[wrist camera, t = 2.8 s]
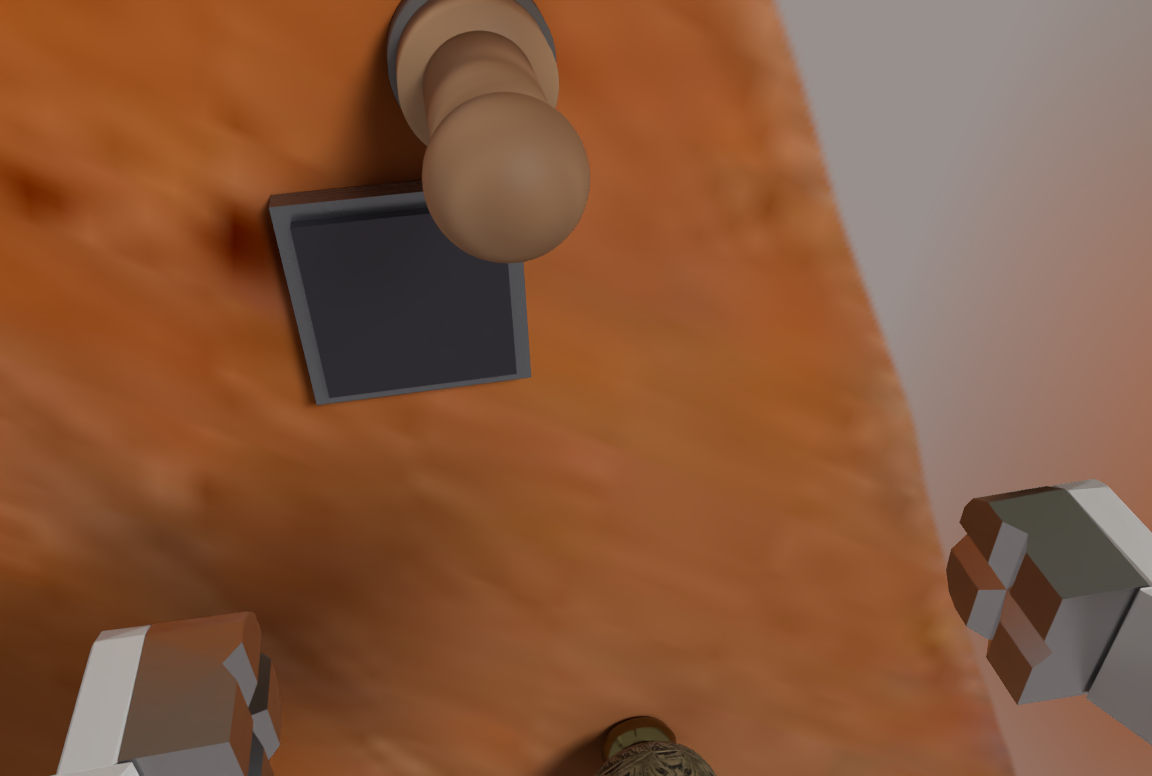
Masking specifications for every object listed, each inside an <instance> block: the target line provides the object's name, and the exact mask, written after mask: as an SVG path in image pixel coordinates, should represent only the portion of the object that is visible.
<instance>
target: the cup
mask: <svg viewBox="0 0 1152 776" xmlns="http://www.w3.org/2000/svg"><path fill="white" fill-rule="evenodd" d="M602 759H603V762H604V764H603V765H602V766H601V767H600V768H599V770H598V771H597V773H596V774H595V776H716V774H715V773H714V771H713V770H712V768H711V767H710V766H709V764H708V763H707V762H706V761H705V760H704V759H703V758H702V757H701V756H700V755H698V754H697V753H696V752H695V751H693V750H691V749H690V748H688V747H686V746H683V745H681V744H677V743H676V737H675V735H674V733H673V732H672V730H671V729H670V728H669V727H668V726H667V725H666V724H665V723H664V722H663V721H661V720H658V719H655V718H650V717H640V718H634V719H630V720H627V721H625V722H622V723H620V724H619V725H617V726H616V727H614V728H613V729H612V730H611V731H610V732H609V733H608V734H607V736H606V738H605V740H604V743H603V747H602Z"/></svg>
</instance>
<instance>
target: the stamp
mask: <svg viewBox="0 0 1152 776" xmlns="http://www.w3.org/2000/svg"><path fill="white" fill-rule="evenodd" d="M386 50H387V63H388V75H389V80H390V85H391V88H392V91H393V93H394V96H395V98H396V100H397V102H398V104H399V106H400V108H401V109H402V112H403V114H404V117H405V119H406V121H407V123H408V125H409V126H410V128H411V129H412V131H413V132H414V134H415V135H416V136H417V137H418V138H419V139H420V140H421V141H422V142H423V143H424V144H425V145H426V146H427V149H426V151H425V155H424V160H423V167H422V187H423V192H424V197H425V201H426V204H427V207H428V209H429V212H430V214H431V216H432V218H433V220H434V221H435V223H436V225H437V226H438V227H439V229H440V230H441V231H442V233H443V234H444V235H445V236H446V237H447V238H448V239H449V240H450V241H451V242H452V243H454V244H455V245H456V246H457V247H459V248H460V249H461V250H463V251H465V252H466V253H468V254H470V255H472V256H475V257H477V258H480V259H483V260H486V261H491V262H496V263H519V262H524V261H528V260H532V259H535V258H537V257H540V256H542V255H544V254H546V253H548V252H550V251H551V250H553V249H554V248H555V247H557V246H558V245H559V244H561V243H562V242H563V241H564V240H565V239H566V238H567V237H568V236H569V234H570V233H571V232H572V231H573V230H574V228H575V227H576V225H577V224H578V222H579V220H580V218H581V216H582V214H583V212H584V209H585V206H586V203H587V200H588V194H589V188H590V171H589V163H588V159H587V155H586V151H585V149H584V146H583V143H582V141H581V139H580V137H579V136H578V134H577V132H576V131H575V129H574V128H573V126H572V125H571V124H570V122H569V121H568V120H567V119H566V118H565V117H564V116H563V115H562V114H561V113H560V112H559V111H557V110H556V109H555V107H556V104H557V99H558V93H559V77H558V69H557V65H556V52H555V46H554V42H553V38H552V36H551V33H550V30H549V28H548V26H547V24H546V22H545V20H544V19H543V17H542V15H541V13H540V11H539V9H538V7H537V6H536V4H535V3H534V1H533V0H402V1H401V2H400V4H399V5H398V7H397V9H396V11H395V13H394V15H393V17H392V20H391V23H390V26H389V30H388V35H387V48H386Z"/></svg>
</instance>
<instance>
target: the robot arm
mask: <svg viewBox="0 0 1152 776" xmlns="http://www.w3.org/2000/svg"><path fill="white" fill-rule="evenodd" d="M960 524H961V525H962V527H963V528H964V530H965V531H966V532H967V535H966V536H965V537H964V538H963V539H961V541H959V542H958V543H957V544H956V545H955V546H954V547H953V548H952V549H951V552H950V556H949V560H948V564H947V568H946V572H947V580H948V589H949V593H950V596H951V598H952V601H953V604H954V606H955V609H956V610H957V612H958V614H959V615H960V617H961V618H962V620H963V622H964V623H965V625H966V626H967V627H968V628H970V629H972V630H973V631H975V632H977V633H978V634H980V635H982V636H983V637H985V638H987V639H988V648H987V656H986V657H987V659H988V661H989V662H990V664H991V665H992V667H993V668H994V670H995V671H996V673H997V674H998V676H999V678H1000V679H1001V681H1002V682H1003V684H1004V685H1005V687H1006V688H1007V690H1008V691H1009V693H1010V695H1011V696H1012V698H1013V699H1014V701H1015V702H1016V704H1017V705H1020V704H1026V703H1033V702H1040V701H1046V700H1052V699H1059V698H1065V697H1072V696H1078V695H1084V694H1088V695H1087V697H1086V698H1087V699H1088V700H1090V701H1091V702H1092V703H1094V704H1095V705H1097V706H1098V707H1099V708H1101V709H1102V710H1103V711H1105V712H1106V713H1108V714H1109V715H1110V716H1112V717H1113V718H1115V719H1116V720H1117V721H1119V722H1120V723H1122V724H1123V725H1124V726H1126V727H1127V728H1128V729H1130V730H1131V731H1133V732H1134V733H1135V734H1137V735H1138V736H1140V737H1141V738H1143V739H1144V740H1145V741H1147V742H1148V743H1149V744H1151V745H1152V533H1151V532H1150V531H1149V530H1148V528H1147V527H1146V526H1145V525H1144V524H1143V523H1142V522H1141V521H1140V520H1139V519H1138V518H1137V517H1136V516H1135V515H1134V514H1133V512H1132V511H1131V510H1129V508H1128V507H1127V506H1126V505H1125V504H1124V503H1123V502H1122V501H1121V500H1120V499H1119V498H1118V496H1116V494H1115V493H1114V492H1113V491H1112V490H1111V489H1110V488H1109V487H1108V486H1107V485H1105V484H1104V483H1102V482H1100V481H1097V480H1095V479H1092V480H1085V481H1078V482H1073V483H1066V484H1060V485H1054V486H1051V487H1050V486H1045V487H1038V488H1032V489H1026V490H1020V491H1015V492H1009V493H1002V494H996V495H990V496H984V497H978V498H973V499H972V500H971V501H970V502H969V503H968V504H967V505H966V506H965V508H964V510H963V513H962V516H961V520H960ZM261 639H262V631H261V628H260V626H259V623H258V621H257V618H256V615H255V613H254V612H250V611H246V612H239V613H231V614H223V615H216V616H208V617H200V618H192V619H185V620H177V621H169V622H161V623H154V624H151V625H143V626H136V627H128V628H121V629H114V630H106V631H102V632H101V633H100V635H99V636H98V638H97V639H96V640H95V642H94V643H93V645H92V647H91V651H90V654H89V658H88V661H87V665H86V669H85V672H84V676H83V679H82V683H81V687H80V690H79V694H78V697H77V701H76V705H75V708H74V712H73V715H72V719H71V722H70V726H69V730H68V733H67V737H66V740H65V744H64V748H63V751H62V755H61V758H60V762H59V766H58V769H57V773H56V775H51V776H274V774H273V771H272V768H271V766H270V763H269V759H270V757H271V756H272V755H273V753H274V752H275V751H276V750H277V748H278V747H279V746H280V735H281V705H280V691H279V686H278V681H277V676H276V672H275V669H274V666H273V662H272V659H271V658H269V657H267V656H266V655H264V654H262V653H260V650H261Z"/></svg>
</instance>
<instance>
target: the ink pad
mask: <svg viewBox="0 0 1152 776" xmlns="http://www.w3.org/2000/svg"><path fill="white" fill-rule="evenodd" d="M269 211H270V215H271V219H272V223H273V227H274V231H275V235H276V239H277V243H278V248H279V252H280V256H281V260H282V264H283V268H284V272H285V276H286V281H287V285H288V289H289V293H290V297H291V301H292V305H293V309H294V313H295V318H296V322H297V326H298V330H299V334H300V338H301V342H302V346H303V350H304V355H305V359H306V363H307V367H308V371H309V375H310V379H311V383H312V388H313V392H314V396H315V400H316V404H317V405H321V404H329V403H336V402H344V401H352V400H359V399H367V398H375V397H383V396H390V395H398V394H406V393H413V392H421V391H429V390H437V389H444V388H452V387H460V386H467V385H475V384H483V383H491V382H498V381H506V380H514V379H521V378H529V377H531V368H530V354H529V339H528V324H527V309H526V295H525V280H524V265H523V262H519V263H496V262H491V261H486V260H483V259H480V258H477V257H475V256H472V255H470V254H468V253H466V252H465V251H463V250H461V249H460V248H459V247H457V246H456V245H455V244H454V243H452V242H451V241H450V240H449V239H448V238H447V237H446V236H445V235H444V234H443V233H442V231H441V230H440V229H439V227H438V226H437V225H436V223H435V221H434V220H433V218H432V216H431V214H430V212H429V209H428V207H427V204H426V201H425V197H424V192H423V187H422V180H415V181H406V182H396V183H386V184H376V185H366V186H356V187H346V188H336V189H326V190H317V191H307V192H297V193H287V194H277V195H271V197H270V203H269Z"/></svg>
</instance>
